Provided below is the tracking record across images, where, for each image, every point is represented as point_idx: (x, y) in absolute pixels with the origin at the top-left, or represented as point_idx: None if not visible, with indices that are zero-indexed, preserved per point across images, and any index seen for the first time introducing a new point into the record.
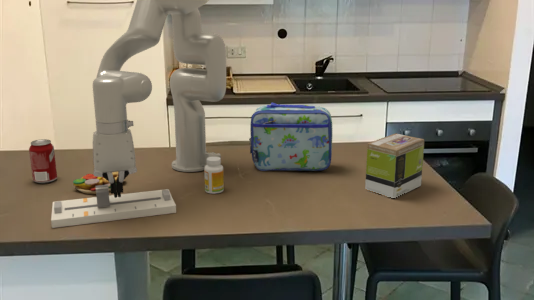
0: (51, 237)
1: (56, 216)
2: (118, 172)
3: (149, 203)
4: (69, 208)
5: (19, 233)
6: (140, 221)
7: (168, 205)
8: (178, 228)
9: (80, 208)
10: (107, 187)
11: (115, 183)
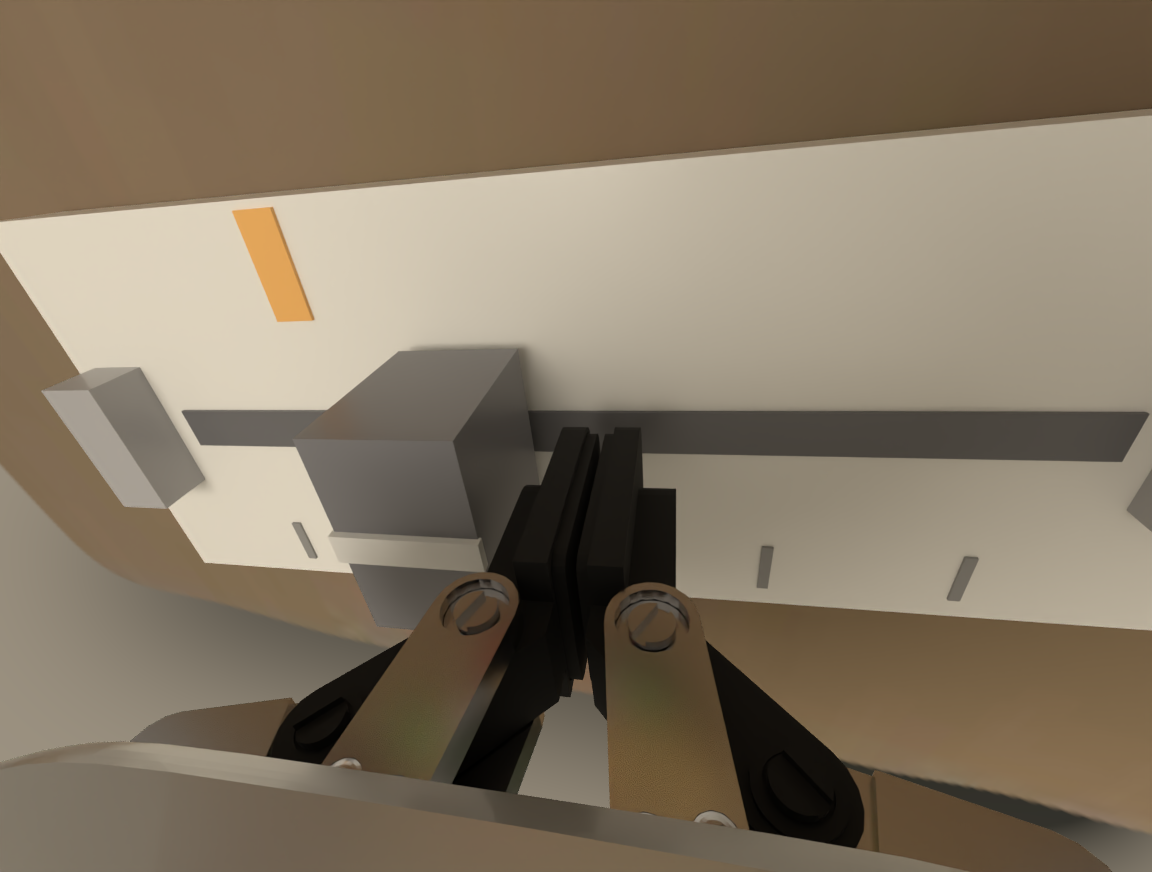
0: (293, 610)
1: (204, 522)
2: (609, 737)
3: (926, 524)
4: (224, 430)
5: (114, 530)
6: (763, 606)
7: (1085, 611)
8: (964, 737)
9: None
10: (472, 562)
11: (569, 694)
